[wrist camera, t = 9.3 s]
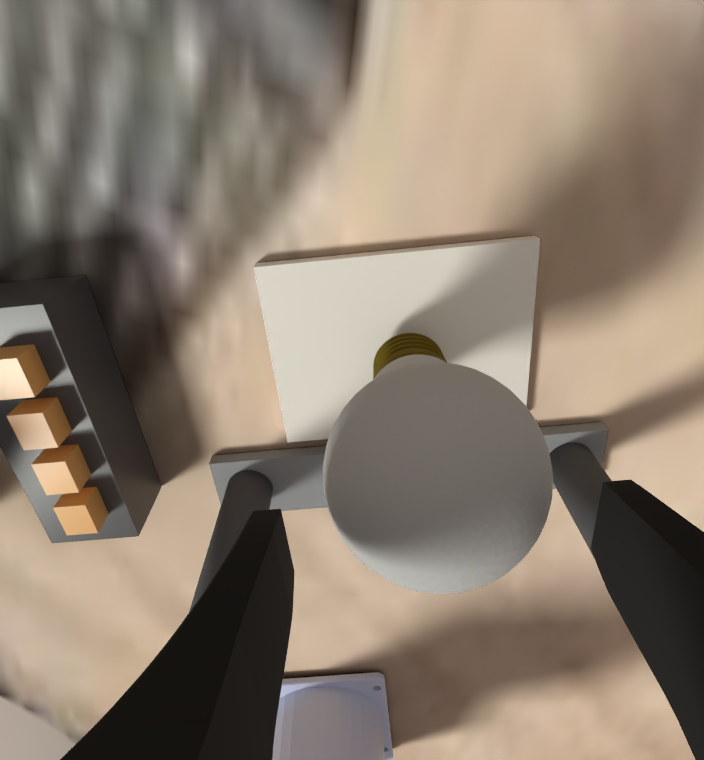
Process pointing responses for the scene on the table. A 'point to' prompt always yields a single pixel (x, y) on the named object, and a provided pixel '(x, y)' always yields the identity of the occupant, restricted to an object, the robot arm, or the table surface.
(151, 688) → the robot arm
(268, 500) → the cable posts
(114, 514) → the terminal block
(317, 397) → the mat
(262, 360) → the table surface
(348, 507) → the light bulb
